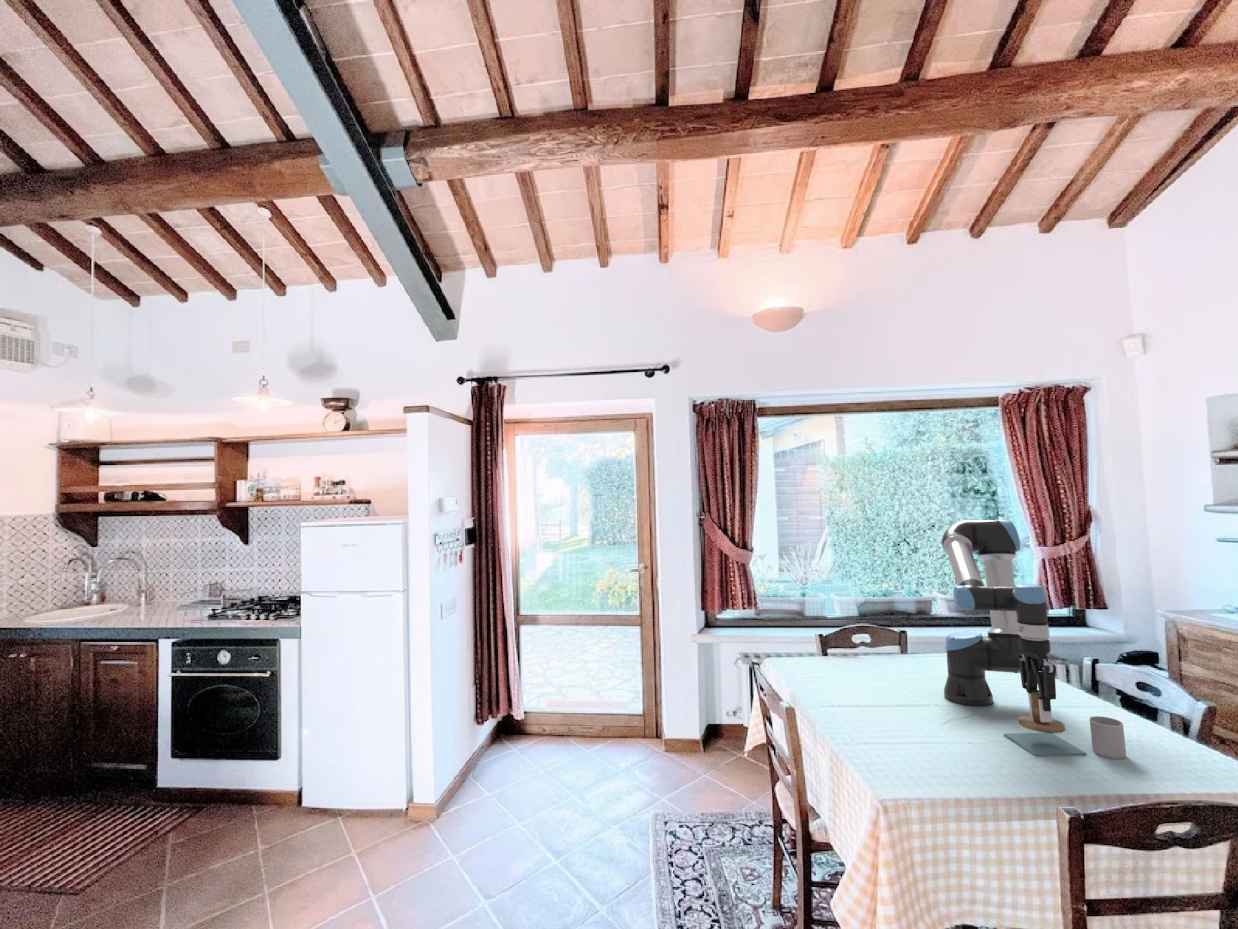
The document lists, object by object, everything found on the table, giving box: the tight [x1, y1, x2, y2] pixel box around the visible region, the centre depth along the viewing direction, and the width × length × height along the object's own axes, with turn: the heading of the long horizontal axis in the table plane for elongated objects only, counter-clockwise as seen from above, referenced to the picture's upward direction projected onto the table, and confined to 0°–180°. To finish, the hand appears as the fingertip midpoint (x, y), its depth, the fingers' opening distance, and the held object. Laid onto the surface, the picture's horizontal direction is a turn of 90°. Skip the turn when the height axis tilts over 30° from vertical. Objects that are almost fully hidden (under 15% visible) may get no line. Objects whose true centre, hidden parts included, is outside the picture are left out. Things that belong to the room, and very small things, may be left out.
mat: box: [1003, 732, 1087, 757], centre depth 166 cm, size 14×14×1 cm
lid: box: [1017, 692, 1066, 734], centre depth 166 cm, size 11×11×9 cm
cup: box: [1089, 715, 1127, 760], centre depth 160 cm, size 7×10×9 cm
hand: (1040, 718), depth 166 cm, fingers closed on lid, 3 cm apart
